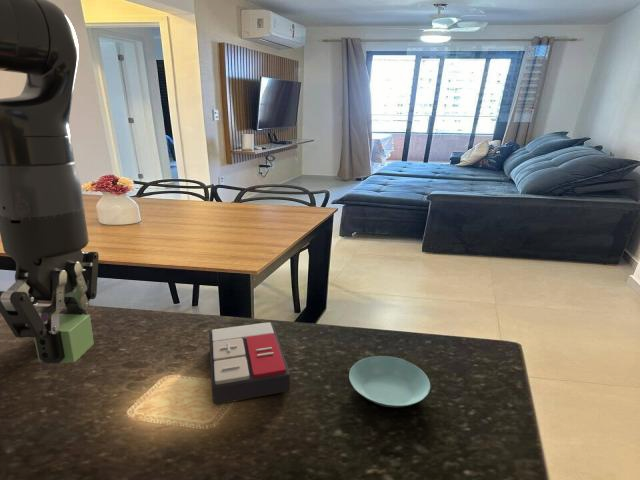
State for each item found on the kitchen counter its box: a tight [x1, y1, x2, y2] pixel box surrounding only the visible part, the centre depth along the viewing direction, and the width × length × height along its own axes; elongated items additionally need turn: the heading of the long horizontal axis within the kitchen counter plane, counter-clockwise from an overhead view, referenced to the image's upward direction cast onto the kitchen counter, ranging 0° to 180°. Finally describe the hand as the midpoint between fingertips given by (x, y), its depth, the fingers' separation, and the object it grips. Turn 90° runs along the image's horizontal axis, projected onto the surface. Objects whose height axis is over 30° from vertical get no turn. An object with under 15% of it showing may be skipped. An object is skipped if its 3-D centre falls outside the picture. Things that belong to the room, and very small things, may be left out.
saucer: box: [348, 355, 431, 408], centre depth 57 cm, size 12×12×2 cm
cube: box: [33, 314, 95, 364], centre depth 44 cm, size 4×4×4 cm
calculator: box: [208, 322, 291, 405], centre depth 60 cm, size 11×4×15 cm
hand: (66, 349), depth 45 cm, fingers closed on cube, 4 cm apart
